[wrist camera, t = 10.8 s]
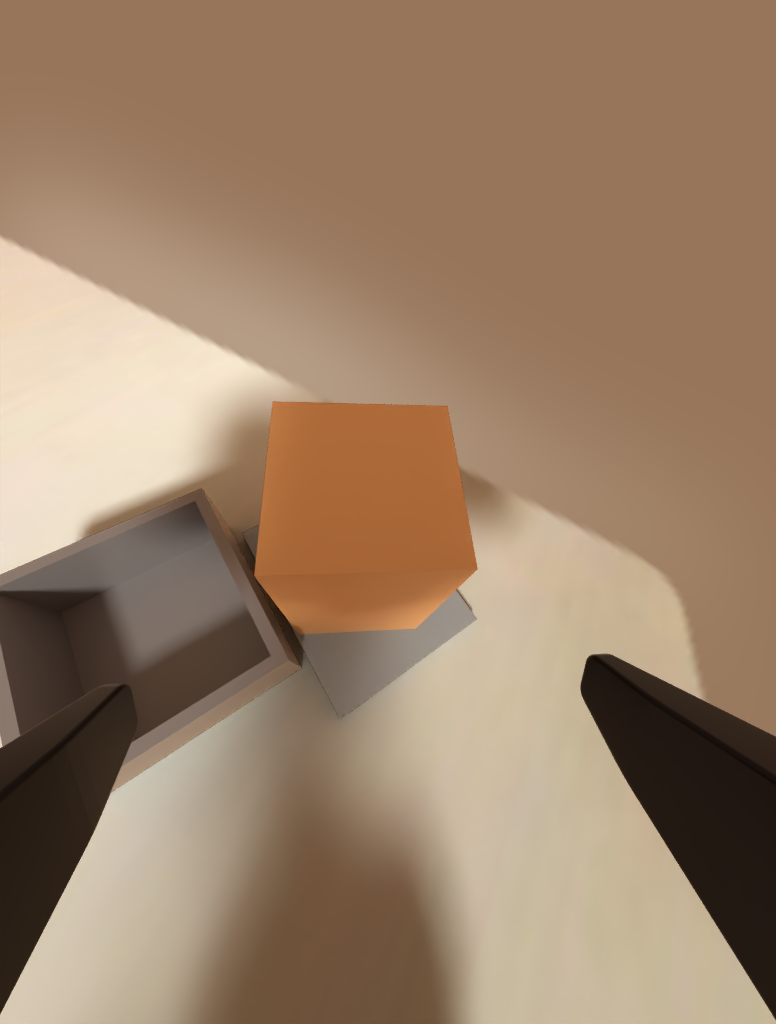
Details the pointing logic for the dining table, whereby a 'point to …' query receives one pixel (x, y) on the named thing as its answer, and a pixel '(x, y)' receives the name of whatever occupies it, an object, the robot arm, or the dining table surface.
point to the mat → (374, 650)
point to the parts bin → (141, 629)
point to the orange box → (361, 516)
